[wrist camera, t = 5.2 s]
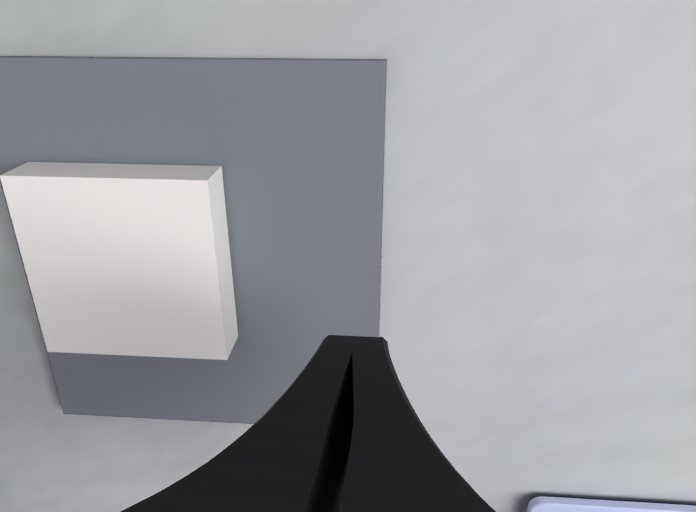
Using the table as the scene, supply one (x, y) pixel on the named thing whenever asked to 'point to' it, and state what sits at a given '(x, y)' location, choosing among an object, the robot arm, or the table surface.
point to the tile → (126, 257)
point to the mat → (241, 206)
